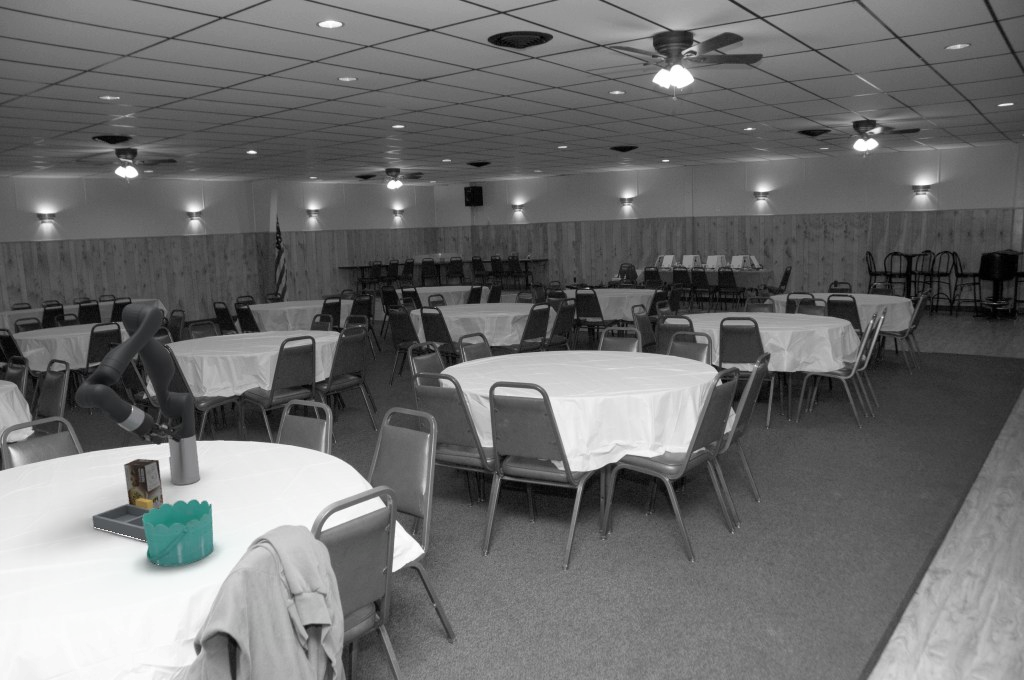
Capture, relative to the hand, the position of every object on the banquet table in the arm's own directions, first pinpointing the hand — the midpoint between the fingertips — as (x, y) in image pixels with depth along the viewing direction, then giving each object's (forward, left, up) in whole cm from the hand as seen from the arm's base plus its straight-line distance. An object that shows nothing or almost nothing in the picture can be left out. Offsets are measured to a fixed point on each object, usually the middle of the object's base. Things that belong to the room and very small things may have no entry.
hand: (170, 441), depth 263 cm
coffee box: (-6, -7, -22) cm, 24 cm away
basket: (+38, -27, -22) cm, 52 cm away
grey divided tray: (+10, -19, -22) cm, 31 cm away
